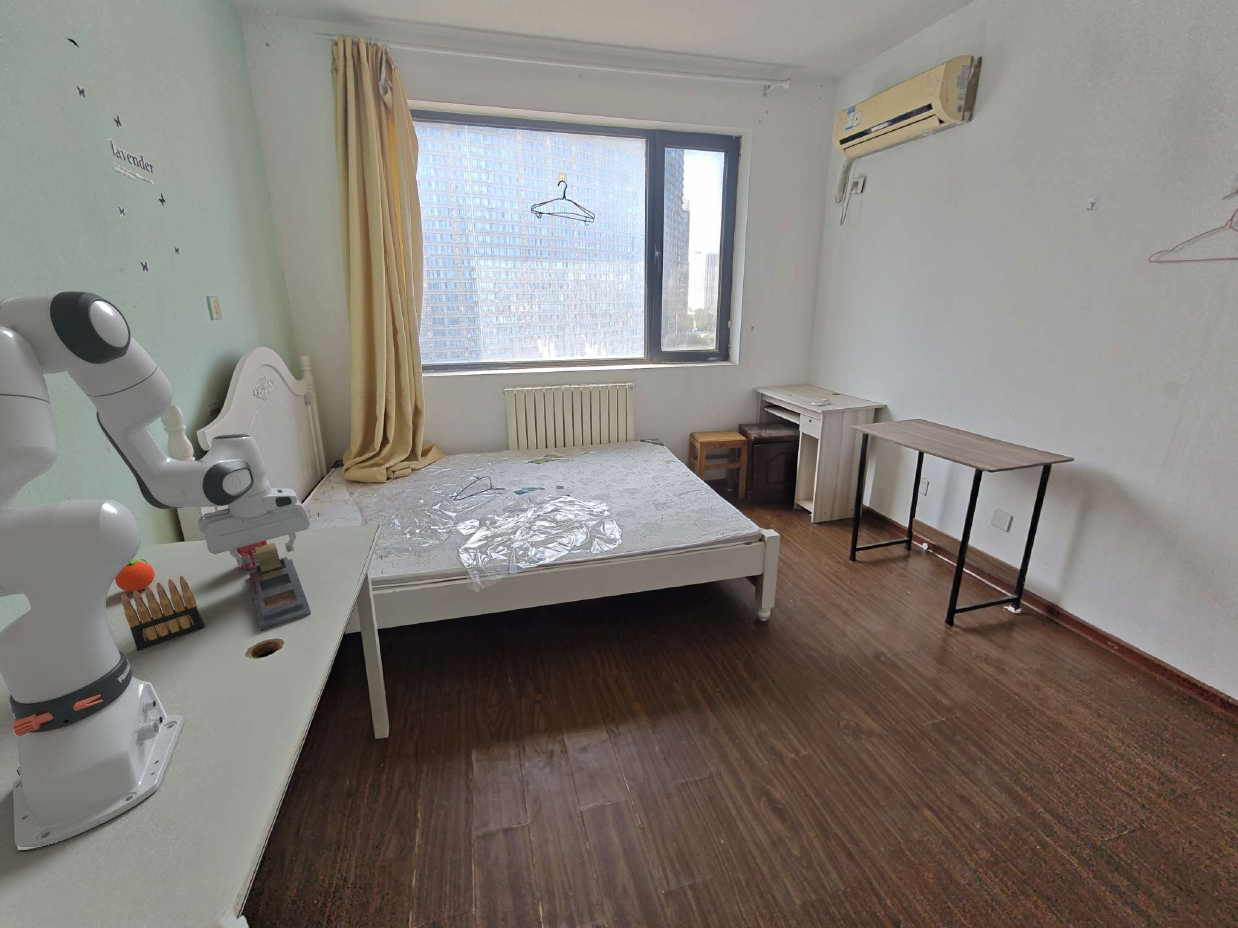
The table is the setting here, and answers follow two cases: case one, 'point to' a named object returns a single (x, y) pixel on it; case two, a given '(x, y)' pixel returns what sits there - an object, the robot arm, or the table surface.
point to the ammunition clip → (162, 615)
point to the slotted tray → (278, 595)
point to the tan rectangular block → (268, 558)
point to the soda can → (250, 554)
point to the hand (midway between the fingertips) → (267, 556)
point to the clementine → (135, 576)
